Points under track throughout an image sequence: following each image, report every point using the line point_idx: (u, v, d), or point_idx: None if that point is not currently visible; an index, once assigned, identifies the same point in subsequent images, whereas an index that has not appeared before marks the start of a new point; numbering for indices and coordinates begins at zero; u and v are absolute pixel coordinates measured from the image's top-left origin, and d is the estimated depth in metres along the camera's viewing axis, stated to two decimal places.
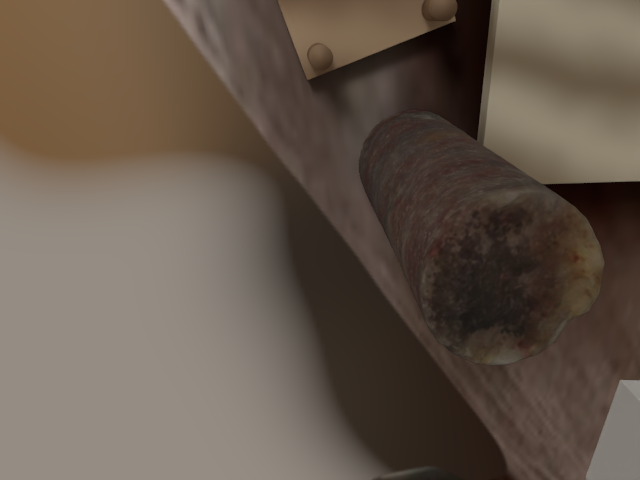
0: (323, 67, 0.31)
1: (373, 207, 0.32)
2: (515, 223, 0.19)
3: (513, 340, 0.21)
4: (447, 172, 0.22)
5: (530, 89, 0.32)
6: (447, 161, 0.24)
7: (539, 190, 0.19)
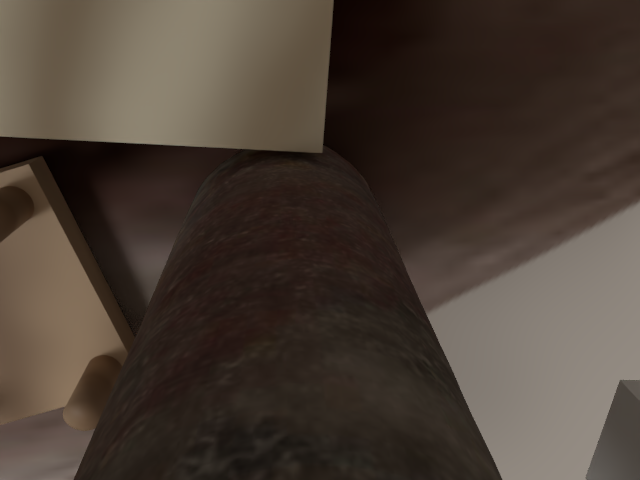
0: (96, 413, 0.20)
1: None
2: None
3: None
4: None
5: (112, 51, 0.15)
6: None
7: None
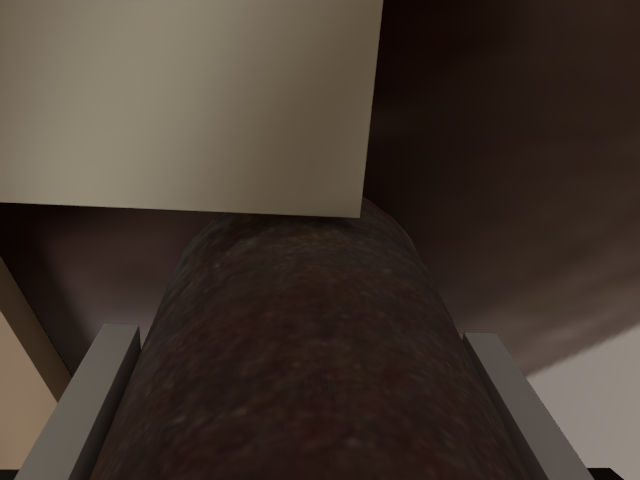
0: None
1: None
2: None
3: None
4: None
5: (38, 69, 0.10)
6: None
7: None
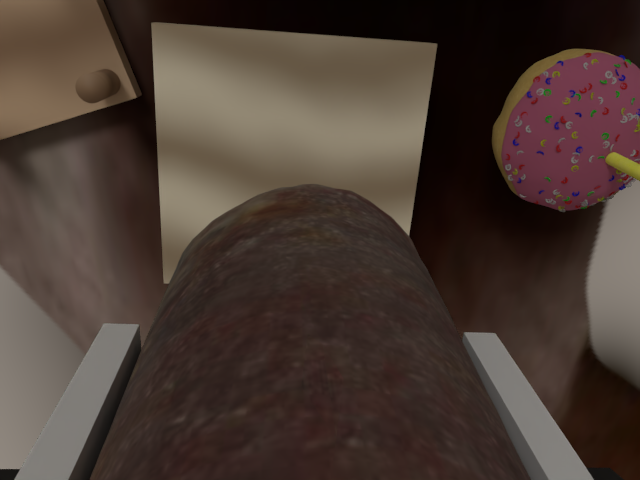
0: None
1: None
2: None
3: None
4: None
5: (207, 184, 0.29)
6: None
7: None
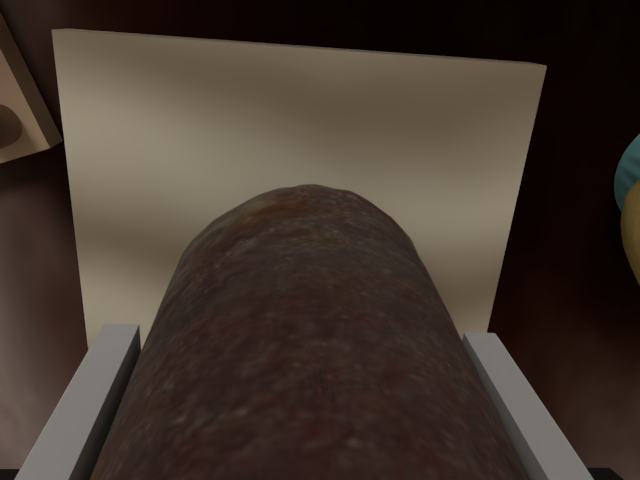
0: None
1: None
2: None
3: None
4: None
5: (161, 291, 0.18)
6: None
7: None
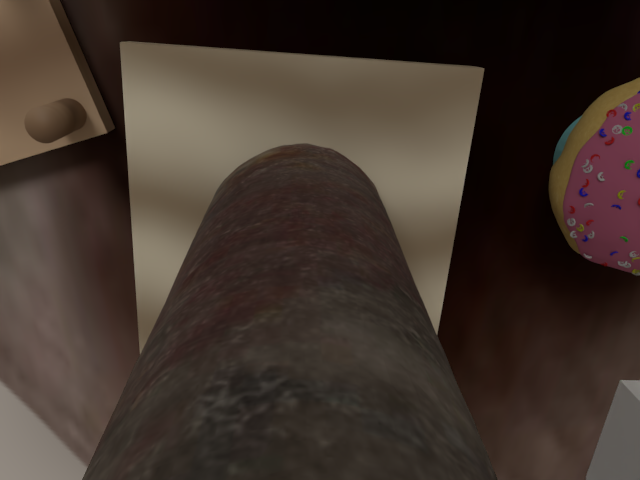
0: None
1: None
2: None
3: None
4: None
5: None
6: None
7: None
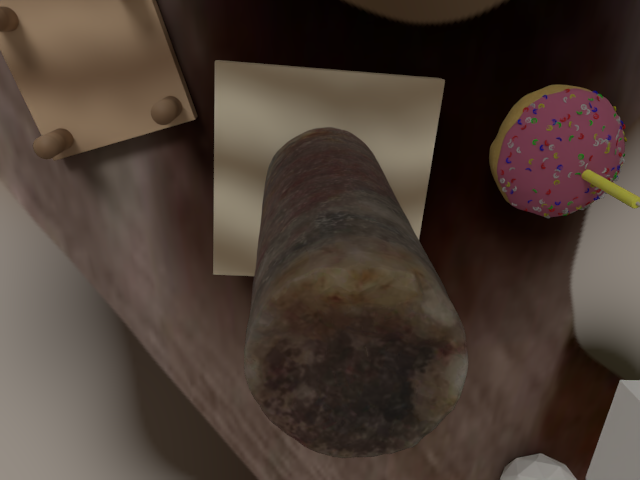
0: (47, 156, 0.33)
1: None
2: (285, 358, 0.17)
3: (437, 360, 0.17)
4: None
5: (253, 192, 0.35)
6: None
7: (248, 334, 0.17)
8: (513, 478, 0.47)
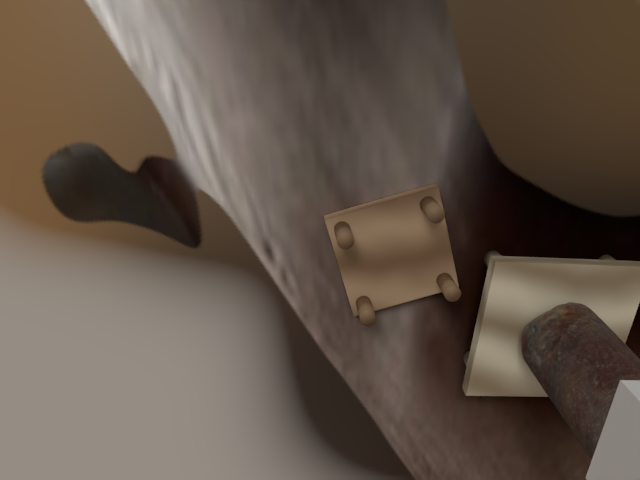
0: (368, 323, 0.46)
1: None
2: None
3: None
4: None
5: (505, 341, 0.48)
6: None
7: None
8: None
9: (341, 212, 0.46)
